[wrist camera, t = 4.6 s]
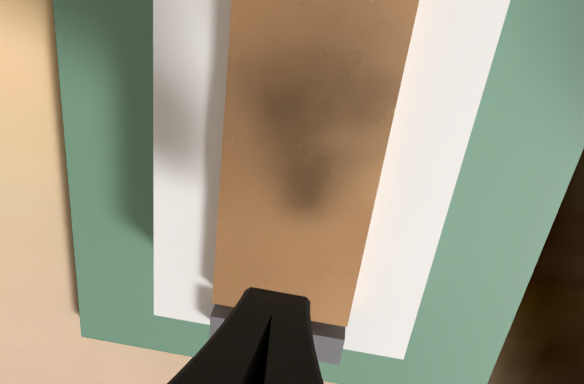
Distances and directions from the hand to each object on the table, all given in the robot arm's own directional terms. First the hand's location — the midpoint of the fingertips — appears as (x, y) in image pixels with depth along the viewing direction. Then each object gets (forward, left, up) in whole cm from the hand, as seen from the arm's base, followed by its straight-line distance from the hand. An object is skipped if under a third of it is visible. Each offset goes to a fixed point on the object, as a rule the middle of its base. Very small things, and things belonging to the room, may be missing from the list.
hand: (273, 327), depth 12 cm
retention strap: (0, -4, -4) cm, 5 cm away
